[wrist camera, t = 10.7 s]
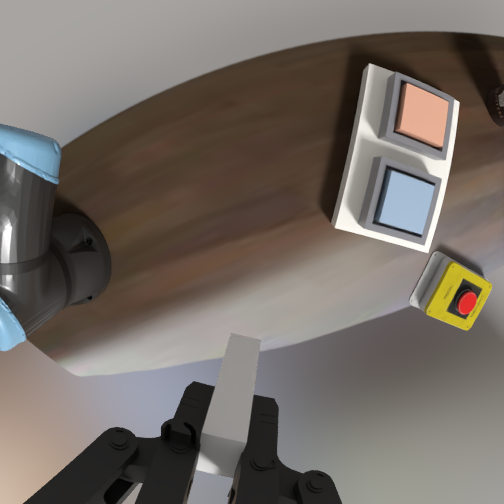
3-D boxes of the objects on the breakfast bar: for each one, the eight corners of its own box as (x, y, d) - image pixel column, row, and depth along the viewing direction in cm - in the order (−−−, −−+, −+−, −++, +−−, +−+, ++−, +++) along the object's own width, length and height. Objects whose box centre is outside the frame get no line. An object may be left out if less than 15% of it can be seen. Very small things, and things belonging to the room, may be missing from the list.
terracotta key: (392, 131, 31) (400, 129, 28) (399, 87, 29) (407, 82, 26) (433, 147, 30) (442, 146, 28) (439, 105, 29) (448, 101, 26)
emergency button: (475, 338, 37) (416, 314, 37) (464, 326, 42) (405, 301, 41) (502, 289, 35) (446, 256, 34) (489, 280, 39) (432, 247, 39)
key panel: (330, 223, 39) (339, 233, 33) (363, 69, 32) (376, 55, 27) (419, 247, 38) (437, 259, 33) (449, 105, 32) (470, 98, 26)
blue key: (372, 218, 34) (379, 221, 31) (384, 170, 32) (391, 170, 30) (413, 230, 34) (422, 234, 31) (425, 184, 32) (434, 186, 29)
